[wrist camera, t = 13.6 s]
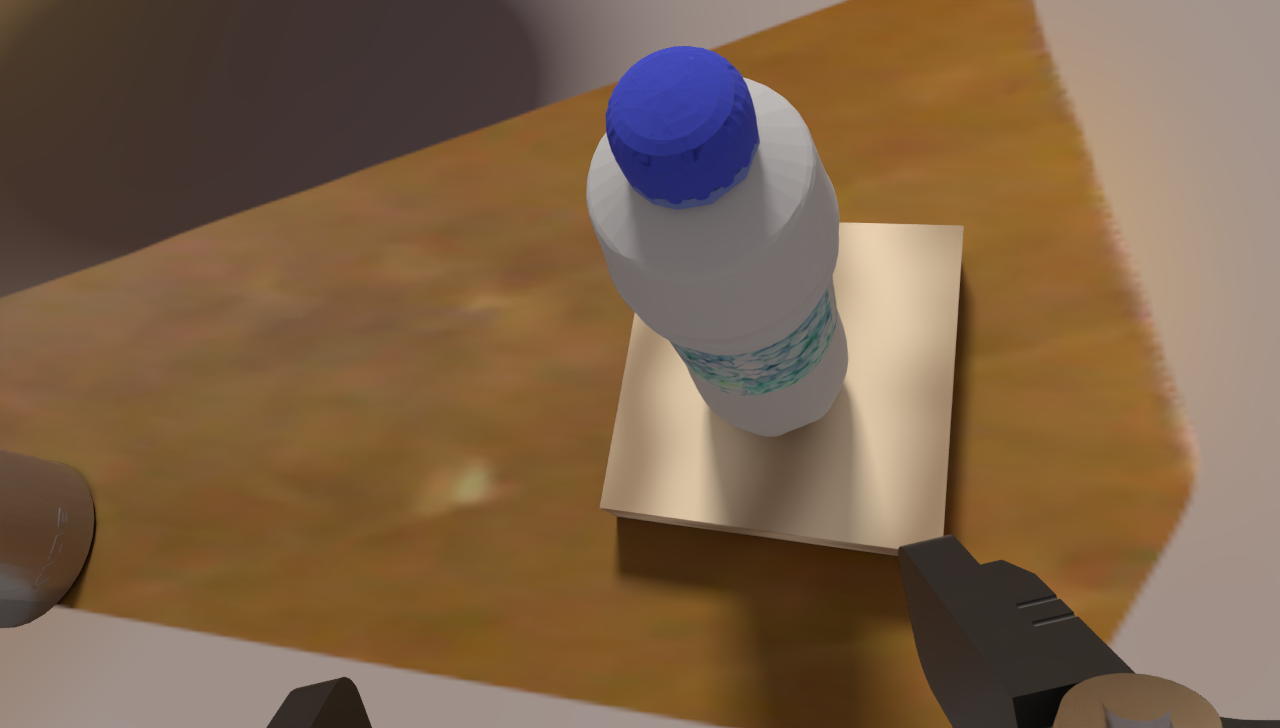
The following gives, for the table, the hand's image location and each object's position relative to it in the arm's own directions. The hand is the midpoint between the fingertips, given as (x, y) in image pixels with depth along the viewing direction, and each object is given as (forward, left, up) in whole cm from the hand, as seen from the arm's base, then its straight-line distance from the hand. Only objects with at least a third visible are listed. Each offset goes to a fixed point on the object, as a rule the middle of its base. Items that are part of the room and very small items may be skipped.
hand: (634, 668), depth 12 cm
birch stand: (-2, +12, -25) cm, 28 cm away
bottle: (-2, +11, -23) cm, 25 cm away
